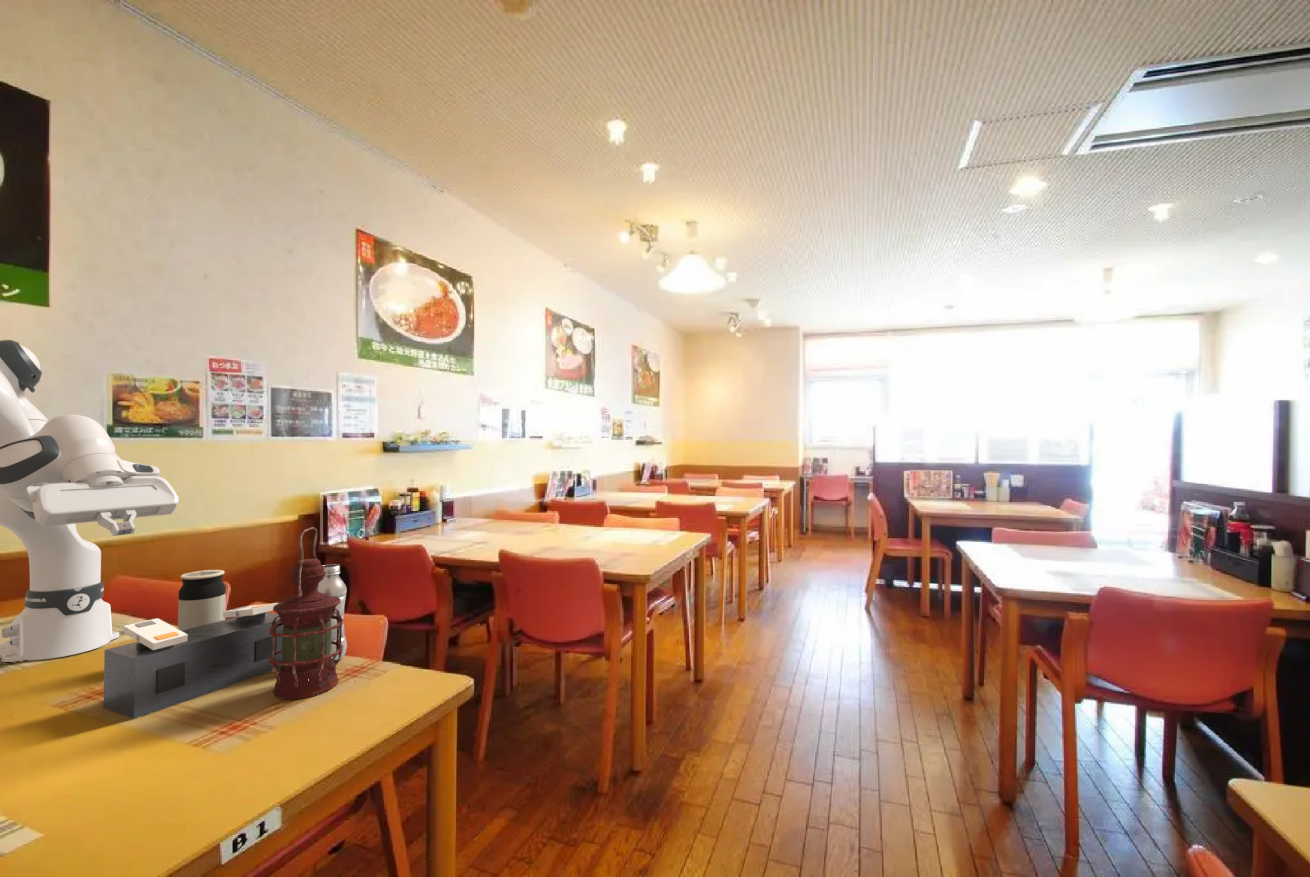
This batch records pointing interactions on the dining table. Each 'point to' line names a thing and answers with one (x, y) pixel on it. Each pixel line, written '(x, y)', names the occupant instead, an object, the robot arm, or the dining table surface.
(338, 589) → the silver tall rounded piece
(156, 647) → the rocker on
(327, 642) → the lantern
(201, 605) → the travel mug
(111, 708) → the switch box
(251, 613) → the block
